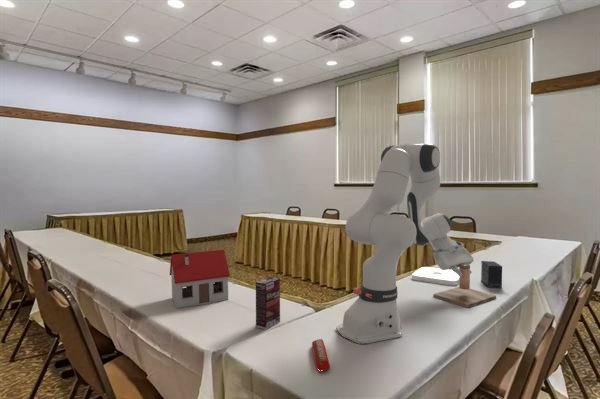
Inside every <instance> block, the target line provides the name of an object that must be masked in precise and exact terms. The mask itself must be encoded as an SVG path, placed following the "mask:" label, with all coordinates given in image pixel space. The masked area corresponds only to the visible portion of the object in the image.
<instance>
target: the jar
mask: <svg viewBox="0 0 600 399" xmlns="http://www.w3.org/2000/svg"><path fill="white" fill-rule="evenodd" d="M458 269H459V270H460V271H462V272H463V273H464V275H463V276H461V277H459V284H458V285H459V286H458V287H459V288H461V289H471V284H470V283H471V282H470V281H471V279H470V278H471V274H470V270H471V265H470V264H459V267H458Z"/></svg>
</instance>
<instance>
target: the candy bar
mask: <svg viewBox="0 0 600 399" xmlns="http://www.w3.org/2000/svg"><path fill="white" fill-rule="evenodd" d="M311 344H312V346H311V347H312V351H313V356H314V361H315V365H316V366H317V367H316V369H317V368H318V369H319V370H320V371H321V370H325V371H328V370H330V367H331V365H330V361H329V358H328V353H327V349H326V345H325V343H324V340H323V339H322V338H318V339H315V340H313V341H312V343H311Z"/></svg>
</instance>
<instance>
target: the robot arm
mask: <svg viewBox="0 0 600 399" xmlns="http://www.w3.org/2000/svg"><path fill="white" fill-rule="evenodd" d="M381 152H382V153H381V156H380V163H379V166H378V169H377V173H376V176H375V180H374V184H373V187H372V189H371V193H370V195H368V196H369V197H368V198H367V200H366V201H365V203H364V204H363V205H362V206H361V207H360V209H359V210H357V211H356V212H355V213H353V214H351V215H350V216H349V217H348V218H347V219H346V223H345V234H346V236H347V237H348V239H349V240H351V241H354V242H355V243H359V244H363V245H369V246H375V251H374V254H373V255H372V256H370V257H368V258H367V259H366V260H365V261H364V262H363V264H362V284H361V286H360V287H361V288H359V287H354V288H353V292H352V293H353V294H355V295H358V298H357V299H356V300H355V301H354V302H353V303H352V304H350V306H349V307H348V309H346V311H345V312H344V313H343V314H344V315H343V318H342V319H343V320H342V321H343V322H342V323H341V324H338V325H336V329H337V330H336V332H337V331H338V332H339V333H340V334H341V335H343V336H344V338H345V337H346V338H348V339H350V340H349V341H351V340H352V341H351V342H353V341H354V342H353V343H356V342H357V343H356V344H360V343H367V344H371V343H377V342H381V341H386V340H391V339H396V338H400V337H402V336H403V334H402V333H403V332H402V326H401V322H400V317H399V316H400V315H399V308H398V303H397V299H398V294H399V292H398V287H397V266H398V264H399V260H400V258H401V255H402V254H403V253H404V252H405V251H406V249H408V248H410V247H411V246H412V245H413V244H414V245H416V246H420V247H424V246H426V245H428V244H429V243H430V245H431V248H432V249H433V251H432V256H433V259H434V261H435V263H436V265H437V266H438V268H439V269H441V270H443V271H444V270H453V271H454V272H455V273H457V274H458V275H459V277H461V276H463V275H464V273H463V272H462V271H460V270H459V264H469V265H470V264H472V263H473V262H474V257H473V255H472V254H471V253H470V252H469V250H468V249H467V248H466V247H464V243H463V242H461V241H456V240H454V239H451V237H450V236H449V235H448V233H449V232H450V231H451V230H452V225H453V224H452V221H451V219H450V218H449V216H448V215H447V214H444V213H441V212H438V213H435V214H433V215H431V216H426V217H424V218H422V216H421V215H422V214H421V210H422V207H423V206H424V205H425V204H426V203H427V202H428V200H429V199H431V198H432V197H433V196H434V195H435V194H436V193H437V192H438V191H439V189H440V187H441V176H440V172H439V168H438V167H439V166H440V163H441V162H440V161H441V152H440V149H439V148H438V147H437V146H436V145H435V144H433V143H426V142H425V143H402V144H398V145H389V146H386V147H385V148H384V150H383V151H381ZM409 178H410V181H411V184H410V190H409V192H408V193H407V196H406V192H407V189H408V188H407V187H408V183H409ZM405 196H406V198H407V199H406V201H407V216H408V217H406V216H403V215H399V214H392V213H390V212H391V211H392V210H393V209H395V208H397V207H398V206H400V205H401V204H403V202H404V199H405ZM389 213H390V214H389ZM472 273H473V272H472V270H471V269H470V275H471V274H472ZM338 332H337V333H338ZM339 333H338V334H339ZM340 334H339V335H340ZM341 335H340V336H341ZM343 336H342V337H343ZM346 338H345V339H346ZM348 339H347V340H348Z"/></svg>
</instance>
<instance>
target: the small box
mask: <svg viewBox="0 0 600 399" xmlns="http://www.w3.org/2000/svg"><path fill="white" fill-rule="evenodd" d="M480 271H481V272H480V275H481V277H480V281H481V283H482V284H483V285H485V286H486V287H487V288H496V289H497V288H498V289H499V288H500V289H502V287H503V286H502V285H503V265H500V264H499V263H497V262H496V261H488V260H481V270H480Z"/></svg>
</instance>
